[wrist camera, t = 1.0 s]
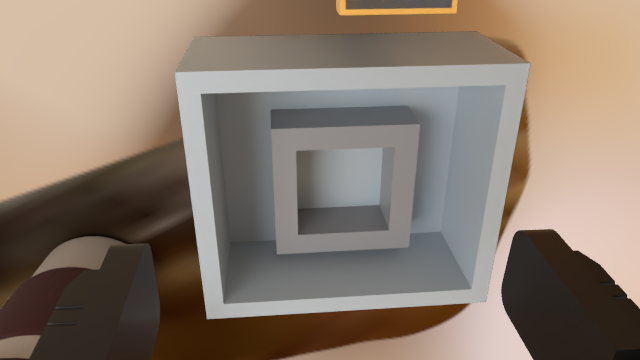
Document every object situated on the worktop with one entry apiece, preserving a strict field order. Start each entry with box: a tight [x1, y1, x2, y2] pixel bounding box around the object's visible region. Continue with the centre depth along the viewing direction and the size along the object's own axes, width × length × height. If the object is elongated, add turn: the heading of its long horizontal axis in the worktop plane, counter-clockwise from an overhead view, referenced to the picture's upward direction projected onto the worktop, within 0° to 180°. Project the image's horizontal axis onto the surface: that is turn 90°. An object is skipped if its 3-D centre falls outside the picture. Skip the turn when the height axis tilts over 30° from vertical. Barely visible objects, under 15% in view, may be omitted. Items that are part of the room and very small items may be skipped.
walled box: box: [175, 31, 531, 319], centre depth 30 cm, size 14×16×7 cm
